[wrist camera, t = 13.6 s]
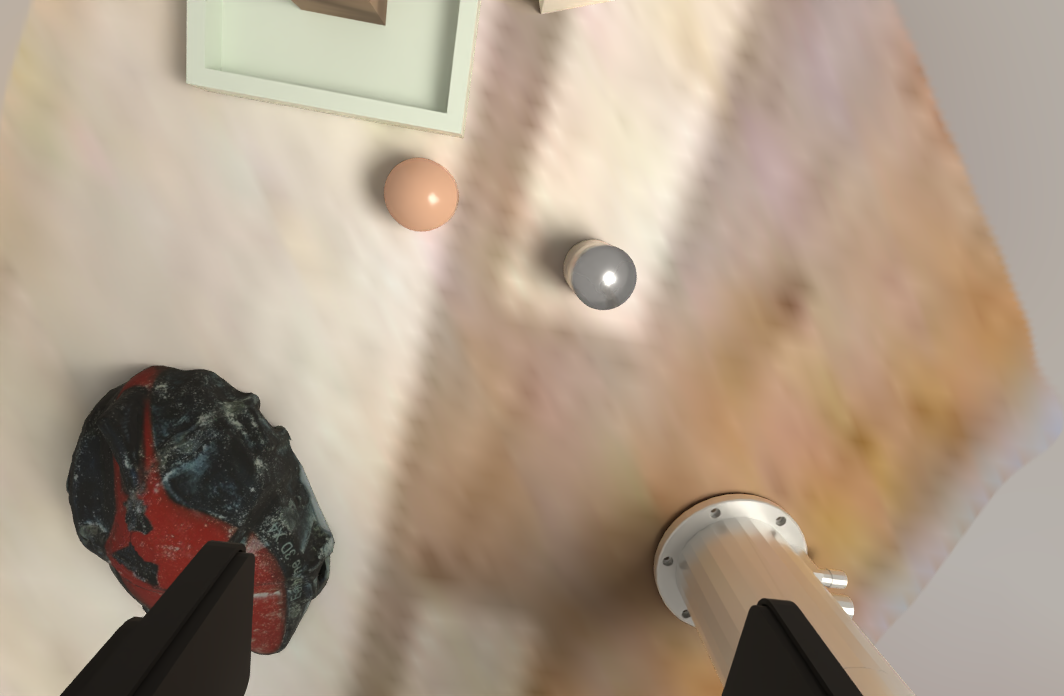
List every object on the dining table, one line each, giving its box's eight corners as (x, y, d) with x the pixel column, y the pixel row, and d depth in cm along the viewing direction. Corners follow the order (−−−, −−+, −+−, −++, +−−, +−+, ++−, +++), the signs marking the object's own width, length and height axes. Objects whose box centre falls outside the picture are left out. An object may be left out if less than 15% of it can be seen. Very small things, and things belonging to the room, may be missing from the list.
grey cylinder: (624, 244, 39) (642, 251, 34) (613, 299, 40) (629, 314, 35) (568, 234, 38) (579, 240, 34) (558, 291, 39) (567, 304, 35)
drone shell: (121, 335, 39) (27, 370, 31) (388, 435, 42) (363, 489, 34) (53, 576, 43) (-42, 658, 36) (299, 649, 46) (259, 740, 39)
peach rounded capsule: (462, 167, 37) (459, 164, 34) (454, 233, 38) (451, 236, 35) (396, 155, 36) (387, 152, 34) (389, 223, 37) (380, 225, 35)
